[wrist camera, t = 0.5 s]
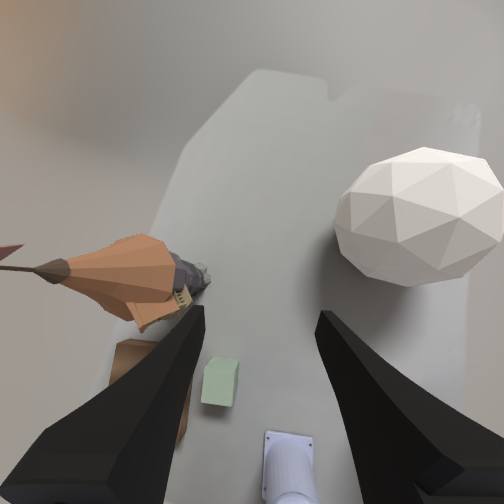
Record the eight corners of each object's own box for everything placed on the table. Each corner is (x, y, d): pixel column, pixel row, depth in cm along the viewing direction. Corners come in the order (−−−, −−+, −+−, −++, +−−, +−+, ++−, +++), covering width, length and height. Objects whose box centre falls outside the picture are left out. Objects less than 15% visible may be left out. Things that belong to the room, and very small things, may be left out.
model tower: (187, 319, 36) (-146, 454, 7) (162, 272, 39) (-168, 227, 9) (227, 293, 37) (70, 318, 7) (201, 248, 39) (-1, 129, 10)
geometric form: (335, 211, 45) (291, 241, 30) (414, 126, 32) (412, 100, 16) (399, 265, 41) (388, 334, 25) (522, 193, 28) (658, 245, 12)
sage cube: (237, 389, 34) (231, 406, 29) (210, 385, 34) (200, 402, 29) (239, 359, 34) (234, 371, 30) (213, 356, 35) (204, 367, 30)
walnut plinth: (186, 430, 33) (178, 444, 30) (114, 418, 34) (99, 431, 31) (196, 346, 35) (190, 351, 32) (128, 338, 37) (116, 343, 34)
